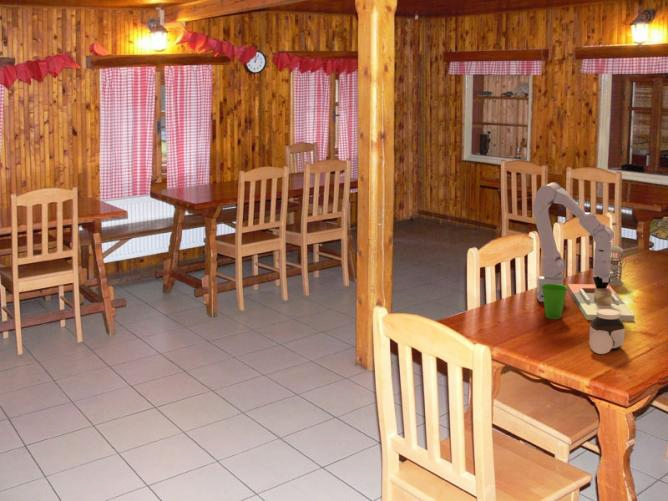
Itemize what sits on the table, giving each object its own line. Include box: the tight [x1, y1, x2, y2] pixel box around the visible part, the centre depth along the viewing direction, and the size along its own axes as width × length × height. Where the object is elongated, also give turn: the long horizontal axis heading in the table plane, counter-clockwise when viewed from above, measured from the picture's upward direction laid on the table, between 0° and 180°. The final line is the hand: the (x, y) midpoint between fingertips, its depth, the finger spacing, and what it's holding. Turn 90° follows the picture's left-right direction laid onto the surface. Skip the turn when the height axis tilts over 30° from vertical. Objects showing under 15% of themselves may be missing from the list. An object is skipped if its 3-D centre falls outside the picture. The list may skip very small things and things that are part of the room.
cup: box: [541, 284, 568, 320], centre depth 293 cm, size 9×9×11 cm
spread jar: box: [588, 309, 626, 355], centre depth 259 cm, size 12×11×12 cm
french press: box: [608, 221, 627, 286], centre depth 338 cm, size 10×12×25 cm
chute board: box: [566, 283, 636, 322], centre depth 310 cm, size 16×42×4 cm, turn 174°
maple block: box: [594, 288, 612, 305], centre depth 303 cm, size 5×5×5 cm
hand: (600, 296), depth 307 cm, fingers closed
